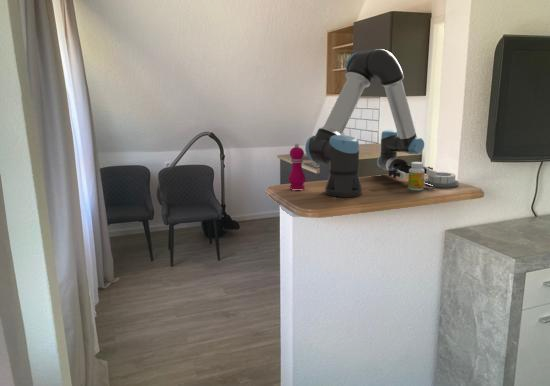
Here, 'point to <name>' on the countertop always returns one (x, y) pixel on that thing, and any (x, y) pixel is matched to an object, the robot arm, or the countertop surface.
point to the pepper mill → (297, 168)
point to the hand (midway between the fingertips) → (420, 175)
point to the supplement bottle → (416, 176)
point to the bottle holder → (442, 180)
